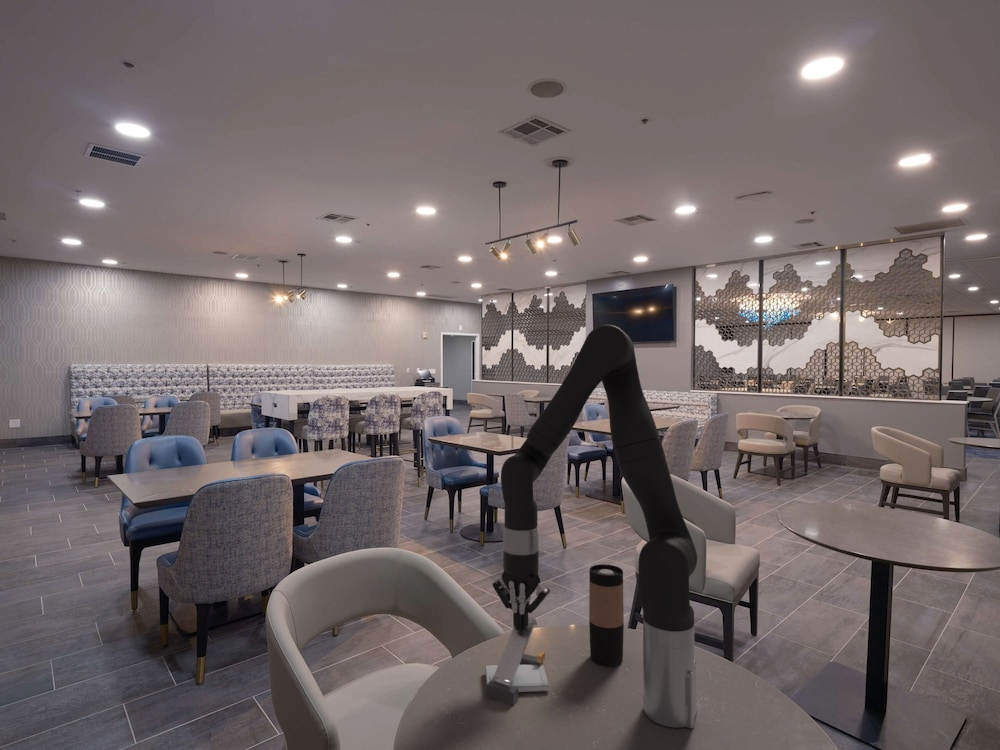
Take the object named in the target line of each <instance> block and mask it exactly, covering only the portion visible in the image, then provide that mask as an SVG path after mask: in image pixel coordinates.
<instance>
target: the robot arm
mask: <svg viewBox="0 0 1000 750" xmlns="http://www.w3.org/2000/svg"><path fill="white" fill-rule="evenodd" d="M640 381H641V380H640V375H639V371H638V365H637V359H636V352H635V347H634V344H633V341H632V339H631V337H630V336H629V335H628V334H627V333H626V332H625V331H624V330H622V329H621V328H620V327H618V326H616V325H613V324H603V325H600V326H599V325H598V326H597V327H595V328H593V329H592V330H591V331H590V332H589V333H588V334H587V336H586V338H585V340H584V342H583V344H582V346H581V347H580V350H579V352H578V353H577V356H576V358H575V360H574V362H573V363H572V366H571V367H570V370H569V372H568V374H566V377H564V380H563V381H562V383H561V385H560V386H559V388H558V389H557V391H556V393H555V394H554V395H553V396H552V398H551V400H550V401H549V402H548V403H547V405H546V407H544V409H543V411H542V412H541V413H540V415H539V416H538V417H537V419H536V420H535V422H534V423H533V425H532V426H531V428H530V429H529V431H528V432H527V434H526V439H525V441H524V442H523V444H522V445H521V446H520V448H519V449H518V450H517V451H516V453H515V454H514V455H512V456H510V457H508V458H506V459H505V460H504V462H503V464H502V466H501V471H500V485H501V493H502V499H503V502H504V528H503V538H502V547H503V548H502V549H503V551H502V554H503V555H502V557H503V559H502V562H503V563H502V568H503V569H502V570H503V572H502V574H501V578H499V579H496V580H495V581H494V582H493V583H492V587H493V588H494V590H495V592H496V594H497V596H498V597H499V600H500V601H501V602H502V604H503V606H504V607H505V609H510V610H511V612H512V613H513V614H512V615H513V618H512V619H513V622H512V624H513V628H514V627H516V630H517V631H521V632H523V631H524V630H525V628H526V627H527V626H528V617H529V614H532V613H533V612H534V611H535V610H536V609H537V608H538V607H539V606H540V605H541V603H542V602H543V601H544V600H545V598H547V596H548V595H549V594H550V592H551V590H550V589H549V588H548V587H546V588H545V587H544V585H542V584H541V578H540V576H539V563H540V562H539V558H540V557H539V556H540V555H539V553H540V552H539V551H540V550H539V531H538V504H537V502H536V500H535V499H534V482H535V481H536V480H537V479H538V478H539V476H540V475H541V474H542V472H543V471H544V469H545V467H547V464H548V463H549V460H550V459H551V457H552V456H553V454H554V453H555V452H556V451H557V450H558V449H559V447H560V446H561V445H562V443H563V442H564V440H565V439H566V438H567V436H568V435H569V434H570V433H571V431H572V429H573V428H574V426H575V424H576V423H577V421H578V418H579V417H580V415H581V413H582V411H583V409H584V407H585V405H586V403H587V401H588V399H589V398H590V396H591V395H592V393H593V392H594V391H595V390H596V388H597V387H598V386H599V384H600V383H602V386H603V389H604V391H605V394H606V398H607V403H608V404H607V405H608V414H609V415H608V417H609V418H608V420H609V428H610V429H609V431H610V437H611V438H610V439H611V443H612V446H613V447H612V448H613V449H614V450H613V451H614V454H615V458H616V461H617V464H618V468H619V471H620V472H621V476H622V477H623V479H624V481H625V483H626V484H627V487H628V488H629V489H630V490H631V491H630V492H632V494H633V495H634V497H635V499H636V500H637V502H638V504H639V507H640V508H641V512H642V513H643V516H644V517H643V518H644V520H645V524H646V528H647V534H648V540H649V541H647V542H646V543H645V544H644V545H643V546H642V548H641V550H640V552H639V557H638V564H637V565H638V567H637V569H638V590H639V591H638V594H639V596H638V597H639V603H640V607H641V609H642V614H643V615H642V618H643V619H642V620H643V621H642V626H643V627H642V629H643V633H642V635H643V639H642V640H643V643H642V645H643V647H642V648H643V649H642V650H643V651H642V652H643V660H642V661H643V662H642V663H643V664H642V665H643V666H642V667H643V677H642V678H643V697H642V698H643V699H642V700H643V712H644V714H645V715H646V717H648V719H650V720H651V721H652V722H654V723H656V724H659V725H660V726H664V727H667V728H676V729H677V728H680V729H681V728H688V729H693V728H694V724H695V720H696V716H697V712H698V710H697V708H698V706H697V705H698V703H697V702H698V701H697V700H698V699H697V698H698V697H697V695H698V694H697V693H698V691H697V679H698V678H697V677H698V676H697V660H695V611H694V608H693V606H692V605H691V604H690V577H691V575H692V574H693V573H694V571H695V570H696V568H697V563H698V553H697V549H696V546H695V544H694V541H693V538H692V536H691V534H690V531H689V529H688V527H687V524H686V522H685V519H684V516H683V514H682V512H681V509H680V506H679V504H678V500H677V496H676V493H675V488H674V484H673V480H672V475H671V473H670V469H669V467H668V466H669V465H668V462H667V458H666V455H665V450H664V448H663V447H664V446H663V444H662V440H661V437H660V434H659V431H658V428H657V426H656V422H655V420H654V417H653V413H652V411H651V409H650V407H649V404H648V401H647V400H646V396H645V394H644V391H643V388H642V384H641V382H640ZM534 592H535V595H536V598H535V599H534V600H533V601H532V602H531V601H530V600H531V598H532V595H533V594H534ZM530 603H531V604H530Z"/></svg>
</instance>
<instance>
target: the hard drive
mask: <svg viewBox="0 0 1000 750" xmlns="http://www.w3.org/2000/svg"><path fill="white" fill-rule="evenodd" d="M498 665H499V664H498ZM498 665H497V664H496V665H485V668H484V669H485V671H484V673H485V680H486V681H485V683H486V685H485V686H487V684H488V683H489V682H490V681H491V680H492V678H493V677H494V675H495V672H496V670H497V667H498ZM512 686H514V687H517V688H518V693H526V692H549V691H550V683H549V680H548V678H547V674H546V670H545V667H544V663H543V664H541V665H540V666H538V665H533V664H531V665H519V667H518V670H517V673H516V675H515V678H514V681H513V684H512Z"/></svg>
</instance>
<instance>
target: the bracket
mask: <svg viewBox="0 0 1000 750" xmlns="http://www.w3.org/2000/svg"><path fill="white" fill-rule="evenodd" d="M545 653H546V652H544V651H539V652H538V654H536V656H534V655H532V654H531V655H530V654H527V653H524V654H523V657H522V659H521V662H520V665H531V664H533V665H538V666H540V665H541V664H543V665H544V660H545V658H546V657H545V655H546V654H545ZM486 698H488V699H491V700H494V701H498V702H500V703H505V704H507V705H511V706H514V707H515V705H516V704H517V703H518V701H519V692H518V688H517V687H514V686H512V687H508V686H505V685H501V684H498V683H494V682H492V680H491V681H490V682H489V683H488V684H487V685H486Z"/></svg>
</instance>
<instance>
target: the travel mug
mask: <svg viewBox="0 0 1000 750" xmlns="http://www.w3.org/2000/svg"><path fill="white" fill-rule="evenodd" d="M588 576H589V582H588V583H589V587H588V588H589V591H588V593H589V594H588V595H589V601H588V603H589V605H588V608H589V610H588V613H589V614H588V617H589V618H588V620H589V621H588V625H589V626H588V627H589V650H590V651H589V653H590V654H589V655H590V660H591V662H593V663H594V664H596V665H598V666H601V667H603V668H616V667H619V666H620V665H622V664H623V661H624V660H623V658H624V631H625V630H624V629H625V628H624V625H625V623H624V622H625V617H624V614H625V613H624V612H625V609H624V606H625V605H624V570H623V569H622V568H621V567H619V566H616V565H612V564H605V563H604V564H596V565H591V566H590V568H589V575H588Z"/></svg>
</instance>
